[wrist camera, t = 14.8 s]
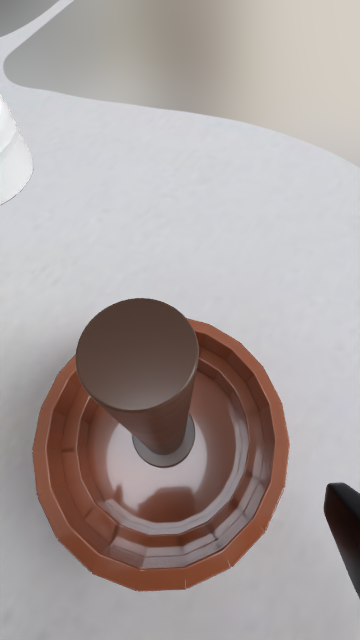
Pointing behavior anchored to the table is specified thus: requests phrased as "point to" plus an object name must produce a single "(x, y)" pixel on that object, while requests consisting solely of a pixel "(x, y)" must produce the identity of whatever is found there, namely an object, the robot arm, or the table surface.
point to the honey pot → (12, 156)
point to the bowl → (165, 475)
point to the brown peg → (143, 375)
